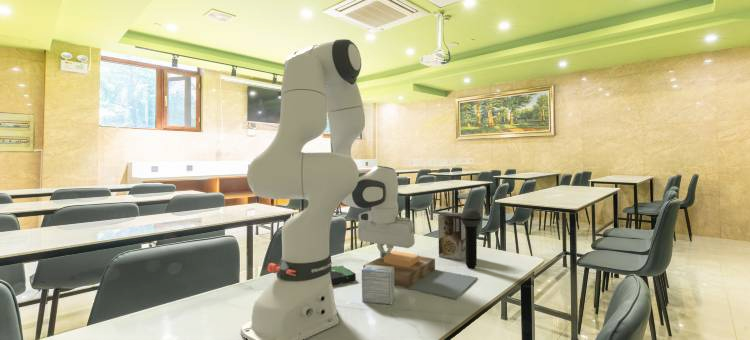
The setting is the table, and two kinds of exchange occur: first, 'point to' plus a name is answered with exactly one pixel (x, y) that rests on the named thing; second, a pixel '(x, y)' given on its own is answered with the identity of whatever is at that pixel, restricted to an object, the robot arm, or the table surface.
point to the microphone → (471, 235)
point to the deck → (408, 270)
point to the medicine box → (378, 284)
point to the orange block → (401, 259)
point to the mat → (444, 284)
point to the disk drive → (341, 275)
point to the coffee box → (451, 236)
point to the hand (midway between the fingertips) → (385, 257)
